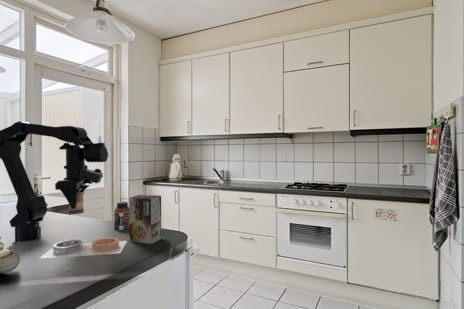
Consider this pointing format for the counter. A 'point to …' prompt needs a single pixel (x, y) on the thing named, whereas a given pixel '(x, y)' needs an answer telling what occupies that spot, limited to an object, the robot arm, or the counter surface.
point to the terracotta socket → (105, 244)
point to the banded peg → (77, 205)
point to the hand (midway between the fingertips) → (76, 207)
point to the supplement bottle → (121, 217)
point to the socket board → (85, 251)
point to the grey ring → (67, 247)
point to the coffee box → (145, 218)
